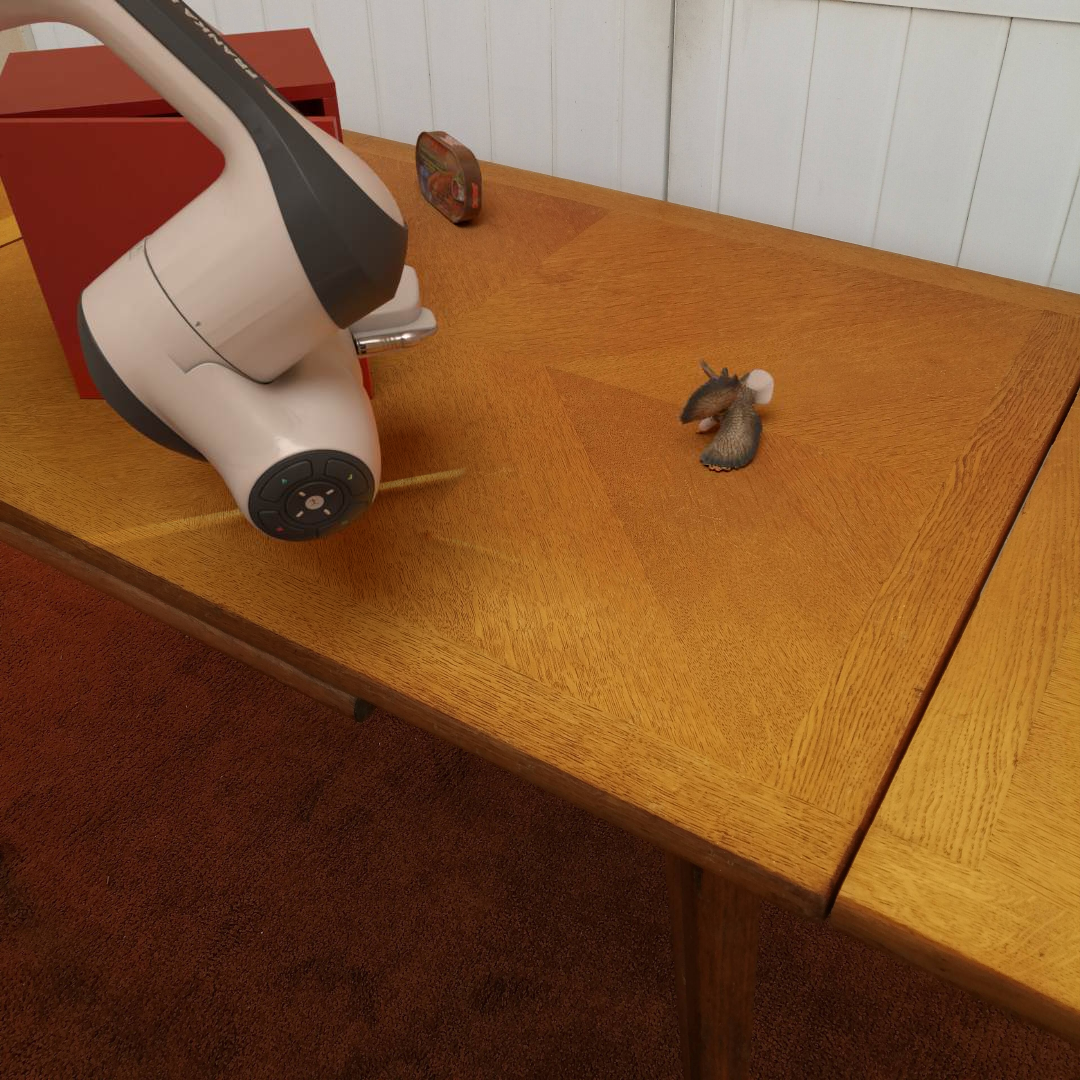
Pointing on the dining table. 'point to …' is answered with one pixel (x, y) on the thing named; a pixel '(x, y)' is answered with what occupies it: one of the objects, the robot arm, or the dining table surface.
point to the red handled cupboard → (102, 201)
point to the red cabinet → (118, 92)
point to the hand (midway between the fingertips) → (273, 273)
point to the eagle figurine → (729, 414)
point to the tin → (449, 176)
